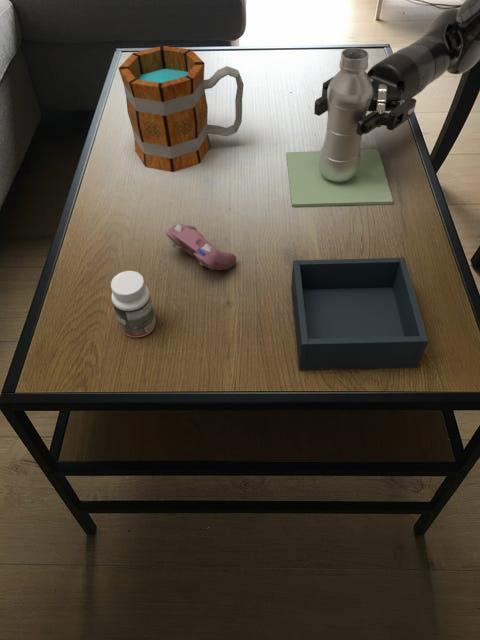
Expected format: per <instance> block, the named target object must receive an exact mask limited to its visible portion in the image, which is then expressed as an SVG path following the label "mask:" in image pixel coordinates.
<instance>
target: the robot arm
mask: <svg viewBox="0 0 480 640" xmlns="http://www.w3.org/2000/svg"><path fill="white" fill-rule="evenodd" d="M479 61H480V0H465V1H464V2H463V3H462V4H461V5H460V7H459V8H456V7H451V8H448V9H447V8H446V9H445V10H443V11H442V12H440V13H439V14H438V15H437V16H435V18H434V19H433V20H432V21H431V22H430V23H429V25H428V26H427V28H426V30H425V31H424V33H423V34H422V36H421V37H420V38H419V39H417V40H416V41H414V42H412V43H411V44H409V45H407V46H406V47H402V48H400V49H398V50H397V51H395V52H393V53H392V54H390V55H389V56H387V57H385V58H384V59H382V60H380V61H379V62H377V63H376V64H373V66H371V68H369V70H368V72H366V73H367V75H368V76H369V78H370V80H371V82H372V85H373V96H372V100H371V102H370V105H369V108H368V111H367V112H369V113H367V114H366V116H365V117H364V118H362V119H361V120H359V122H358V124H357V130H356V134H358V135H360V136H361V137H362V136H363V135H366V134H369V133H371V132H372V131H373V130H375V129H376V128H378V129H379V128H382V127H386V130H388V131H394V130H395V129H397V128H399V126H401V125H403V124H404V123H405V122H407V121H408V120H410V119H411V118H412V117H413V116H414V112H415V109H416V104H417V99H416V98H415V97H416V96H418V94H420V93H422V92H423V90H425V89H426V88H427V86H429V85H430V84H432V83H433V82H434V81H436V80H438V79H439V78H440V77H442V76H443V75H444V74H445V73H446V72H447V73H448V74H451V75H461V74H464V73H466V72H467V71H468V72H469V70H471V69H472V68H473V67H474V66H475V65H476V64H477V63H478V62H479ZM333 78H334V76H333V77H330V78H329V79H327V80H325V81H324V82H323V83H322V89H321V96H320V97H319V98H316V100H315V101H314V107H313V108H314V109H313V110H314V111H313V113H314V115H316V116H318V117H320V116H322V115H323V114H325V113H326V112H328V104H327V90H328V86H329V84H330V82H331V80H332V79H333Z"/></svg>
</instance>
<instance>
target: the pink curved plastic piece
mask: <svg viewBox="0 0 480 640" xmlns="http://www.w3.org/2000/svg"><path fill="white" fill-rule="evenodd" d="M165 235H166V236H167V237H168V239H169V240H170V241H169V242H168V243H169V245H170V247H172V248H176V246H178V247H180V248H181V249H182V250H183V251H184V252H186V253H187V254H188V255H190V256H191V257H192V258H196V260H197V261H198V262H199V263H198V264H199V266H201V267H204V266H205V267H206V268H207V269H210V270H227V269H230V268H231V267H232V268H233V266H234V265H236V262H237V256H236V254H234V253H233V252H227V251H221V250H220V249H218V248H217V247H215V246H214V244H212V243H211V242H209V240H207V239H206V238H205V237H204V235H203V234H202V233H201V232H200V231H198V229H197V227H195V226H194V225H186V224H183V223H179V222H178V223H176V224H175V225H173V226H171V227H170V228H169V229H168V230H167V232H165Z"/></svg>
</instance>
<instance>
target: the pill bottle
mask: <svg viewBox="0 0 480 640" xmlns="http://www.w3.org/2000/svg"><path fill="white" fill-rule="evenodd" d="M110 288H111V303H112V307H113V309H114V312H115V315H116V318H117V321H118V324H119V327H120V330H121V332H122V333H123V334H124V335H126V336H127V337H130V338H142V337H146V336H147V335H149V334H150V333H152V332H153V330H154V329H155V328H156V324H157V318H156V314H155V310H154V307H153V302H152V299H151V297H152V296H151V292H150V290H149V288H148V286H147V285H146V282H145V279H144V277H143V275H142V274H141V273H139V272H138V271H135V270H124V271H121V272H119V273H117V274H116V275H115V276H114V277H113V278H112V280H111V282H110Z"/></svg>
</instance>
